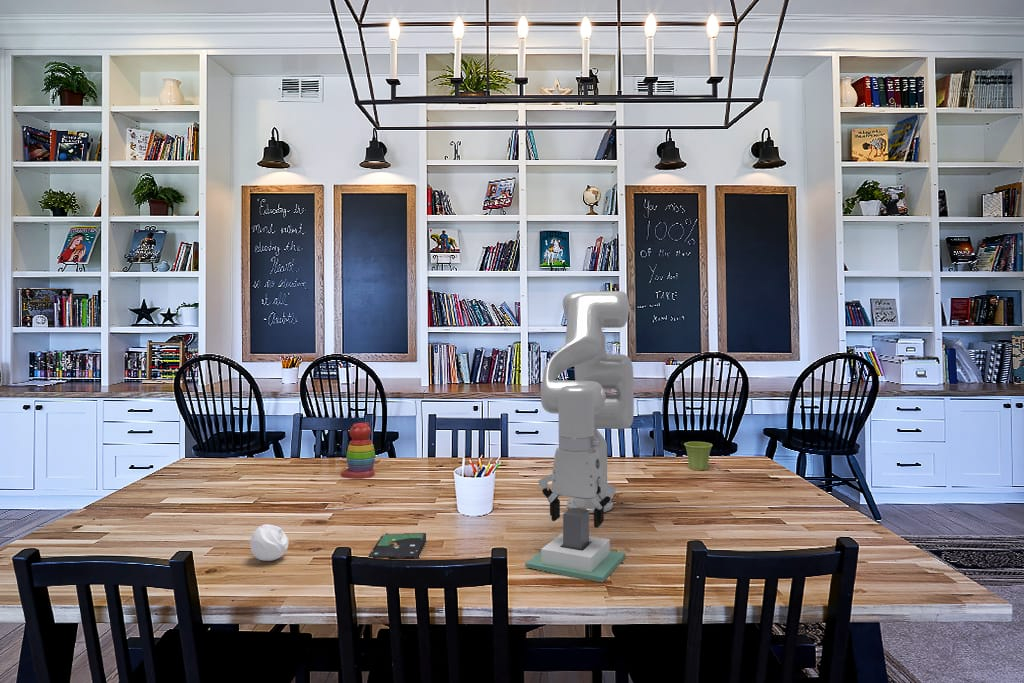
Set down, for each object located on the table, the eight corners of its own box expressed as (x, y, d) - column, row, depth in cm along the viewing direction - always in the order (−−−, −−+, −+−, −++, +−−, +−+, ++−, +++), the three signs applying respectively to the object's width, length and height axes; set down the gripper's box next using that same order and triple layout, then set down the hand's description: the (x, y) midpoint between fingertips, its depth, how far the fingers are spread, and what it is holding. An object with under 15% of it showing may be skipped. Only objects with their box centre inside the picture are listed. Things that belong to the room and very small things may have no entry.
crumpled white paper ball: (282, 566, 136) (281, 530, 136) (245, 567, 136) (244, 531, 136) (292, 552, 144) (291, 518, 144) (257, 553, 144) (256, 519, 143)
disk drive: (416, 568, 136) (426, 543, 151) (416, 555, 136) (426, 531, 151) (368, 568, 136) (382, 543, 151) (367, 555, 136) (382, 531, 151)
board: (553, 545, 148) (553, 528, 148) (625, 557, 140) (625, 539, 140) (525, 567, 135) (525, 549, 135) (602, 582, 127) (602, 562, 127)
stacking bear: (367, 470, 224) (366, 419, 223) (382, 475, 216) (381, 422, 216) (338, 475, 217) (337, 422, 216) (353, 480, 209) (352, 426, 209)
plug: (573, 551, 142) (573, 506, 141) (591, 553, 140) (591, 508, 140) (563, 560, 136) (563, 513, 136) (580, 563, 134) (580, 516, 134)
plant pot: (707, 473, 217) (708, 447, 217) (680, 469, 222) (680, 444, 222) (715, 467, 225) (715, 443, 225) (689, 464, 230) (689, 440, 230)
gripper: (620, 443, 136) (620, 523, 137) (546, 436, 144) (546, 511, 145) (609, 451, 130) (609, 534, 131) (532, 443, 137) (532, 522, 138)
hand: (576, 522), depth 138 cm, fingers open, 9 cm apart
